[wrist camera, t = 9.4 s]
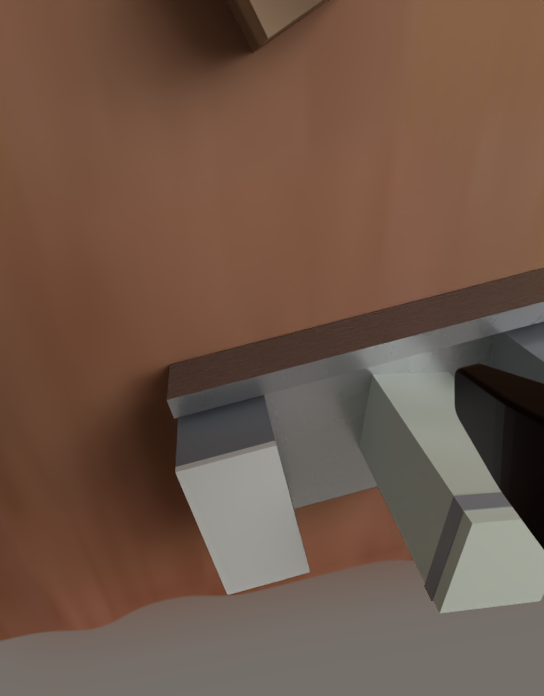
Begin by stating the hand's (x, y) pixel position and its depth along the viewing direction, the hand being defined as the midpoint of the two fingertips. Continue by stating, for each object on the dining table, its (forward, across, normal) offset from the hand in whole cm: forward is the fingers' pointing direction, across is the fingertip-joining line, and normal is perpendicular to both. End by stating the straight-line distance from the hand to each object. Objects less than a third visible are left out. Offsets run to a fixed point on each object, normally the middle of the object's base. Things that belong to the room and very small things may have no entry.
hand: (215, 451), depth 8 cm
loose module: (+12, -8, +10) cm, 17 cm away
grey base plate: (+13, -6, +10) cm, 18 cm away
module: (+11, +1, +11) cm, 16 cm away
